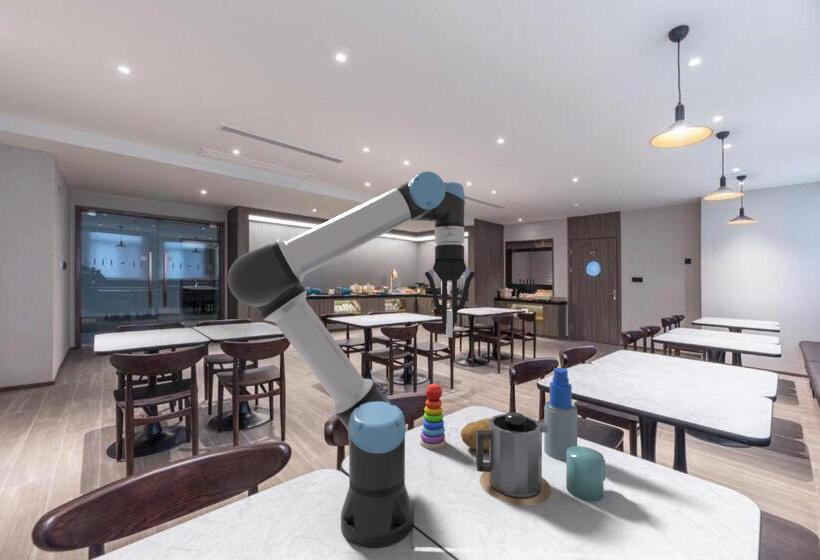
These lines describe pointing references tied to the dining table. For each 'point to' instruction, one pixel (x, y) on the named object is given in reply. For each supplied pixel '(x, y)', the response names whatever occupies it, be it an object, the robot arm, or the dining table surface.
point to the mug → (585, 473)
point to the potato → (470, 433)
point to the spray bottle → (560, 417)
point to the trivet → (536, 500)
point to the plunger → (515, 421)
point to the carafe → (512, 457)
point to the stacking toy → (433, 420)
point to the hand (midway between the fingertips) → (449, 336)
